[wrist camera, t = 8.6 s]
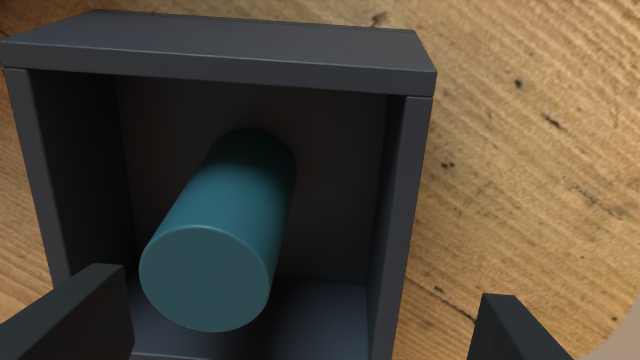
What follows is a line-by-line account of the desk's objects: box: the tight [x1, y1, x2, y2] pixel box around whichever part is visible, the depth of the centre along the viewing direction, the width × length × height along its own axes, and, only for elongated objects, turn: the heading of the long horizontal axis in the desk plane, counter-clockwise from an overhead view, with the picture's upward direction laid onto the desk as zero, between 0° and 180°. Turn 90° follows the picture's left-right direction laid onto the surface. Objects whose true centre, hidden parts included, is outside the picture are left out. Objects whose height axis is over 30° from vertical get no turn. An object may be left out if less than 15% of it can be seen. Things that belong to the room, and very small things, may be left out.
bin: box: [0, 9, 437, 360], centre depth 18 cm, size 11×11×6 cm
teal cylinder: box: [139, 129, 297, 332], centre depth 17 cm, size 4×4×7 cm
